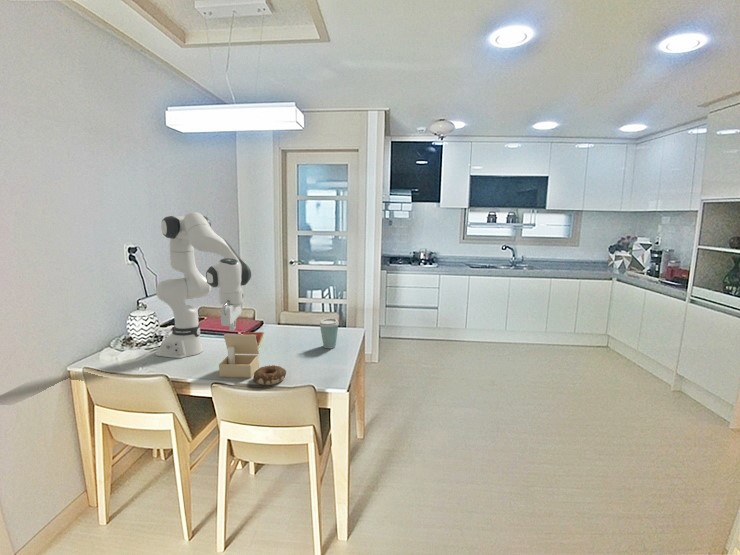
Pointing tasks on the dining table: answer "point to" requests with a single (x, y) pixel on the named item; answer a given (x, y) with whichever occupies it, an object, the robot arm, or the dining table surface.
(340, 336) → the dining table surface
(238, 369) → the box
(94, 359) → the dining table surface
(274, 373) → the donut
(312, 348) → the dining table surface
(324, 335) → the disposable coffee cup
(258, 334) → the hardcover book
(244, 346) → the lid
